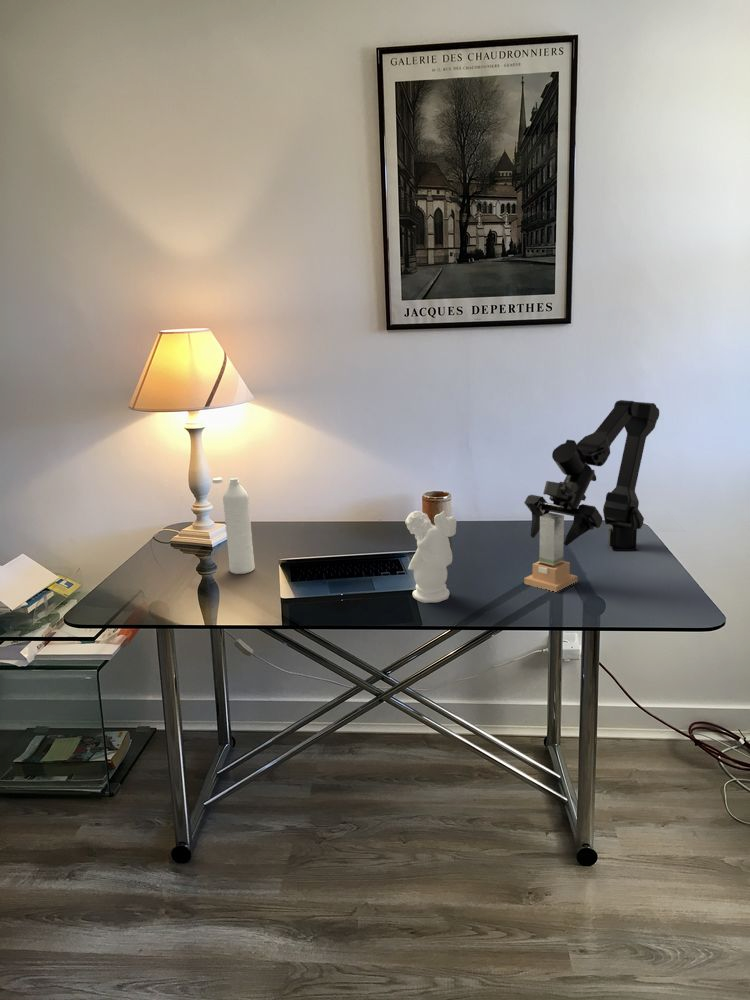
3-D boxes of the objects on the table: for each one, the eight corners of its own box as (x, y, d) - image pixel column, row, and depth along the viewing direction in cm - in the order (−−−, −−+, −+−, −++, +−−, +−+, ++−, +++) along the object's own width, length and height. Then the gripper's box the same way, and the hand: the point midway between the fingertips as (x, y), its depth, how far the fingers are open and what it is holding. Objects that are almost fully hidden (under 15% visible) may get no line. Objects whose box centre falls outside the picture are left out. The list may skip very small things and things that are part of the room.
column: (548, 557, 192) (549, 512, 189) (563, 561, 189) (564, 515, 186) (539, 562, 189) (539, 516, 186) (553, 565, 186) (554, 519, 183)
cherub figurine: (402, 594, 188) (398, 505, 182) (442, 581, 195) (439, 495, 189) (435, 609, 178) (431, 515, 173) (475, 595, 185) (473, 504, 180)
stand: (545, 573, 197) (545, 554, 195) (577, 581, 190) (577, 562, 189) (524, 583, 191) (524, 564, 189) (556, 592, 185) (556, 572, 183)
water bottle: (256, 565, 212) (248, 474, 205) (252, 573, 206) (244, 480, 199) (224, 566, 212) (215, 476, 205) (219, 575, 206) (209, 482, 199)
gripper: (529, 462, 192) (501, 516, 188) (597, 472, 179) (569, 531, 175) (547, 487, 200) (521, 539, 195) (614, 498, 187) (587, 555, 182)
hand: (548, 540), depth 187 cm, fingers open, 9 cm apart
